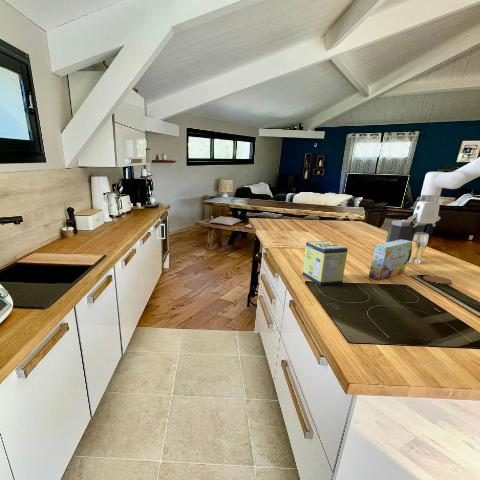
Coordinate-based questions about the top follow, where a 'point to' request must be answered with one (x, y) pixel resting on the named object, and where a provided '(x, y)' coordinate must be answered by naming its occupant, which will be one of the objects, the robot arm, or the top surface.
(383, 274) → the snack box
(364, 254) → the top surface
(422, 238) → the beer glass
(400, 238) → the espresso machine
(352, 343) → the top surface
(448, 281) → the coaster
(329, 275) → the protein box
